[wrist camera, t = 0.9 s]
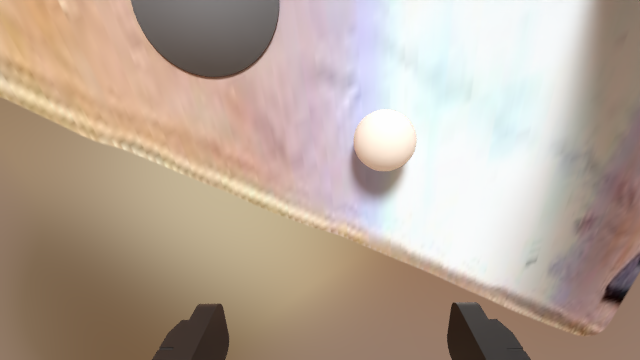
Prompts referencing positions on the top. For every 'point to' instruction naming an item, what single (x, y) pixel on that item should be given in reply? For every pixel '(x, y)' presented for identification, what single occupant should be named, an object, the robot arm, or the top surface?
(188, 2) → the disc
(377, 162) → the ball
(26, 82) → the top surface
